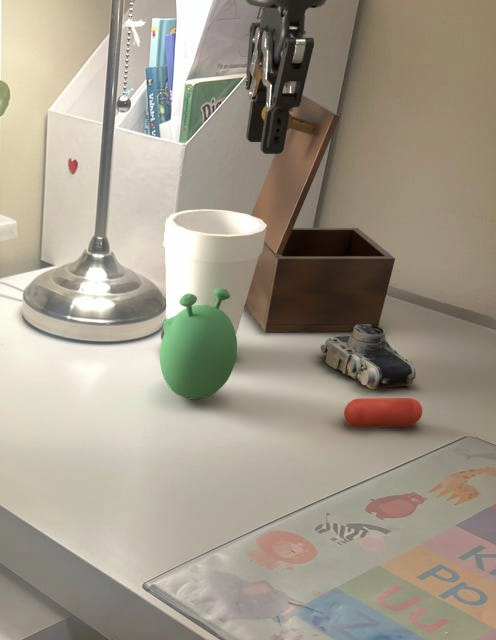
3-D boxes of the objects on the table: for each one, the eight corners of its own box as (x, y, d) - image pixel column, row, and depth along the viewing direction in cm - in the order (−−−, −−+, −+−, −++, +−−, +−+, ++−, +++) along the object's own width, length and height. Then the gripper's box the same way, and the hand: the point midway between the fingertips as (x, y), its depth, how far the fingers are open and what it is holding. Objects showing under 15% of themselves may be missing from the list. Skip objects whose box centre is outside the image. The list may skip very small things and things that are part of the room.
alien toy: (189, 373, 97) (202, 270, 91) (245, 400, 92) (263, 294, 86) (135, 389, 94) (145, 283, 87) (190, 418, 89) (205, 308, 83)
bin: (342, 296, 116) (357, 227, 111) (377, 331, 107) (395, 258, 102) (238, 296, 115) (249, 227, 111) (264, 332, 106) (277, 258, 101)
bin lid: (304, 95, 103) (262, 81, 102) (340, 116, 94) (294, 101, 92) (253, 224, 110) (213, 213, 109) (281, 255, 101) (238, 243, 100)
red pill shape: (411, 418, 89) (419, 393, 88) (422, 430, 87) (430, 404, 86) (337, 419, 89) (343, 393, 87) (346, 431, 87) (352, 405, 86)
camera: (368, 395, 93) (379, 352, 91) (313, 355, 101) (321, 315, 99) (414, 389, 95) (426, 347, 92) (356, 351, 102) (365, 311, 100)
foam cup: (233, 378, 96) (255, 241, 88) (142, 363, 99) (156, 228, 91) (251, 345, 103) (273, 215, 95) (166, 332, 106) (181, 205, 98)
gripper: (360, -52, 84) (321, 162, 95) (310, -60, 96) (280, 132, 106) (275, -52, 84) (245, 163, 94) (234, -60, 95) (212, 133, 106)
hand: (263, 146), depth 100 cm, fingers open, 5 cm apart
